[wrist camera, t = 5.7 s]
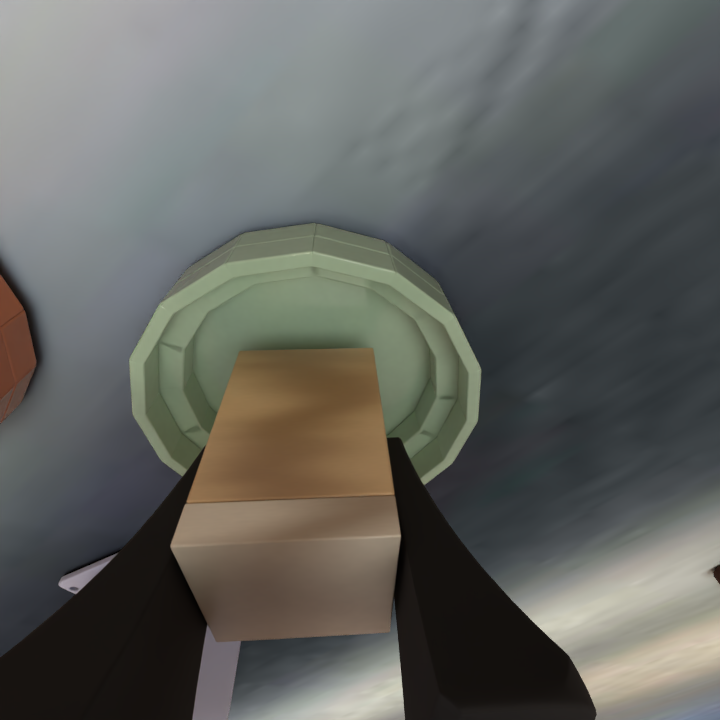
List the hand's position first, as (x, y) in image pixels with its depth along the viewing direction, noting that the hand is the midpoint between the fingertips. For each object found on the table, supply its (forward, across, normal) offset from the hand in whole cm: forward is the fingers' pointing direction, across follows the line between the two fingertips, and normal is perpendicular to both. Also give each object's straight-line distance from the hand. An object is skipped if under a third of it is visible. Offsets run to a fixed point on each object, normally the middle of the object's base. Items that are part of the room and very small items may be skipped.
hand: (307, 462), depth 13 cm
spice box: (+3, 0, 0) cm, 3 cm away
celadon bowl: (+5, 0, 0) cm, 5 cm away
